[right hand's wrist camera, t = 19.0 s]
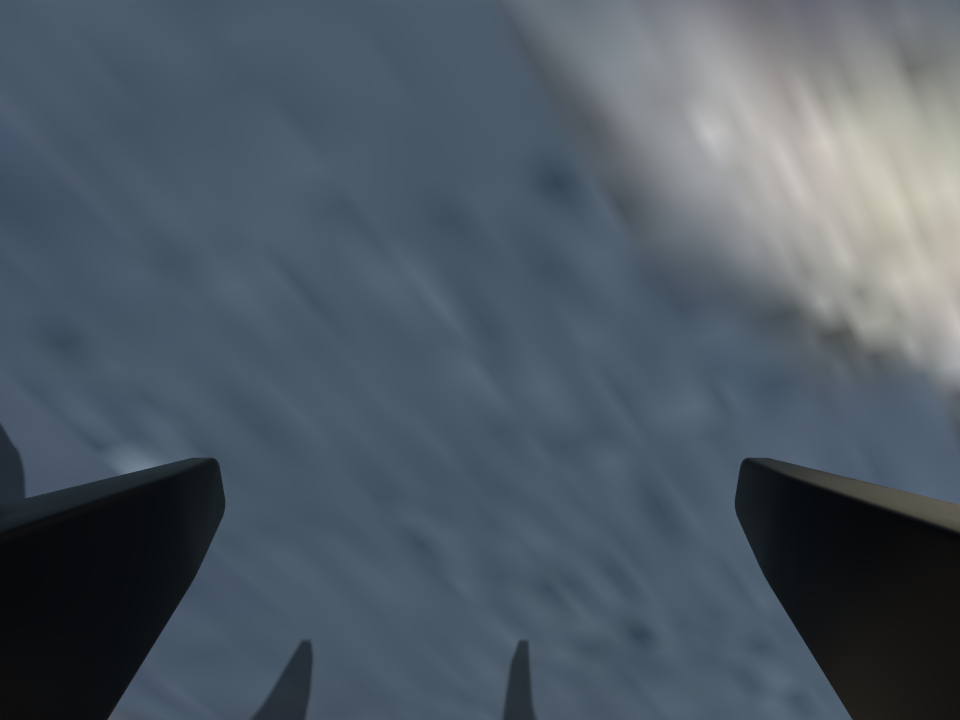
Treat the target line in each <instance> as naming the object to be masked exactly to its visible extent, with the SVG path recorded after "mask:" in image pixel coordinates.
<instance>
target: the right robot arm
mask: <svg viewBox="0 0 960 720" xmlns="http://www.w3.org/2000/svg"><path fill="white" fill-rule="evenodd" d="M224 510H225V496H224V490H223V484H222V478H221V472H220V466H219V463H218V461H217V460H216V459H214V458H190V459H186V460H182V461H178V462H174V463H170V464H165V465H161V466H157V467H153V468H149V469H145V470H141V471H137V472H133V473H128V474H124V475H120V476H116V477H112V478H108V479H104V480H100V481H96V482H92V483H87V484H83V485H79V486H75V487H71V488H67V489H63V490H59V491H55V492H51V493H46V494H42V495H38V496H34V497H30V498H26V499H22V500H18V501H14V502H10V503H5V504H1V505H0V720H107V719H108V718H109V716H110V715H111V713H112V711H113V710H114V708H115V707H116V705H117V703H118V702H119V700H120V698H121V697H122V695H123V694H124V692H125V690H126V689H127V687H128V685H129V684H130V682H131V681H132V679H133V677H134V676H135V674H136V672H137V671H138V669H139V668H140V666H141V664H142V663H143V661H144V660H145V658H146V656H147V655H148V653H149V651H150V650H151V648H152V647H153V645H154V643H155V642H156V640H157V638H158V637H159V635H160V634H161V632H162V630H163V629H164V627H165V625H166V624H167V622H168V621H169V619H170V617H171V616H172V614H173V613H174V611H175V609H176V608H177V606H178V604H179V603H180V601H181V600H182V598H183V596H184V595H185V593H186V591H187V590H188V588H189V586H190V585H191V583H192V581H193V580H194V578H195V576H196V574H197V572H198V570H199V568H200V566H201V564H202V562H203V559H204V557H205V555H206V553H207V550H208V548H209V546H210V544H211V542H212V539H213V537H214V535H215V533H216V531H217V528H218V526H219V524H220V522H221V519H222V517H223V514H224ZM735 510H736V514H737V517H738V519H739V522H740V524H741V526H742V528H743V530H744V533H745V535H746V537H747V539H748V542H749V544H750V546H751V548H752V550H753V553H754V555H755V557H756V559H757V562H758V564H759V566H760V568H761V570H762V572H763V574H764V576H765V578H766V580H767V581H768V583H769V585H770V586H771V588H772V590H773V591H774V593H775V595H776V596H777V598H778V600H779V601H780V603H781V604H782V606H783V608H784V609H785V611H786V612H787V614H788V616H789V617H790V619H791V621H792V622H793V624H794V625H795V627H796V629H797V630H798V632H799V634H800V635H801V637H802V638H803V640H804V642H805V643H806V645H807V646H808V648H809V650H810V651H811V653H812V655H813V656H814V658H815V659H816V661H817V663H818V664H819V666H820V668H821V669H822V671H823V672H824V674H825V676H826V677H827V679H828V681H829V682H830V684H831V685H832V687H833V689H834V690H835V692H836V694H837V695H838V697H839V698H840V700H841V702H842V703H843V705H844V706H845V708H846V710H847V711H848V713H849V715H850V716H851V718H852V719H853V720H960V505H959V504H955V503H951V502H947V501H942V500H938V499H934V498H930V497H926V496H922V495H918V494H914V493H910V492H905V491H901V490H897V489H893V488H889V487H885V486H881V485H877V484H873V483H869V482H864V481H860V480H856V479H852V478H848V477H844V476H840V475H836V474H832V473H827V472H823V471H819V470H815V469H811V468H807V467H803V466H799V465H795V464H790V463H786V462H782V461H778V460H774V459H770V458H746V459H744V460H743V461H742V463H741V466H740V472H739V478H738V484H737V490H736V496H735Z"/></svg>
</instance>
